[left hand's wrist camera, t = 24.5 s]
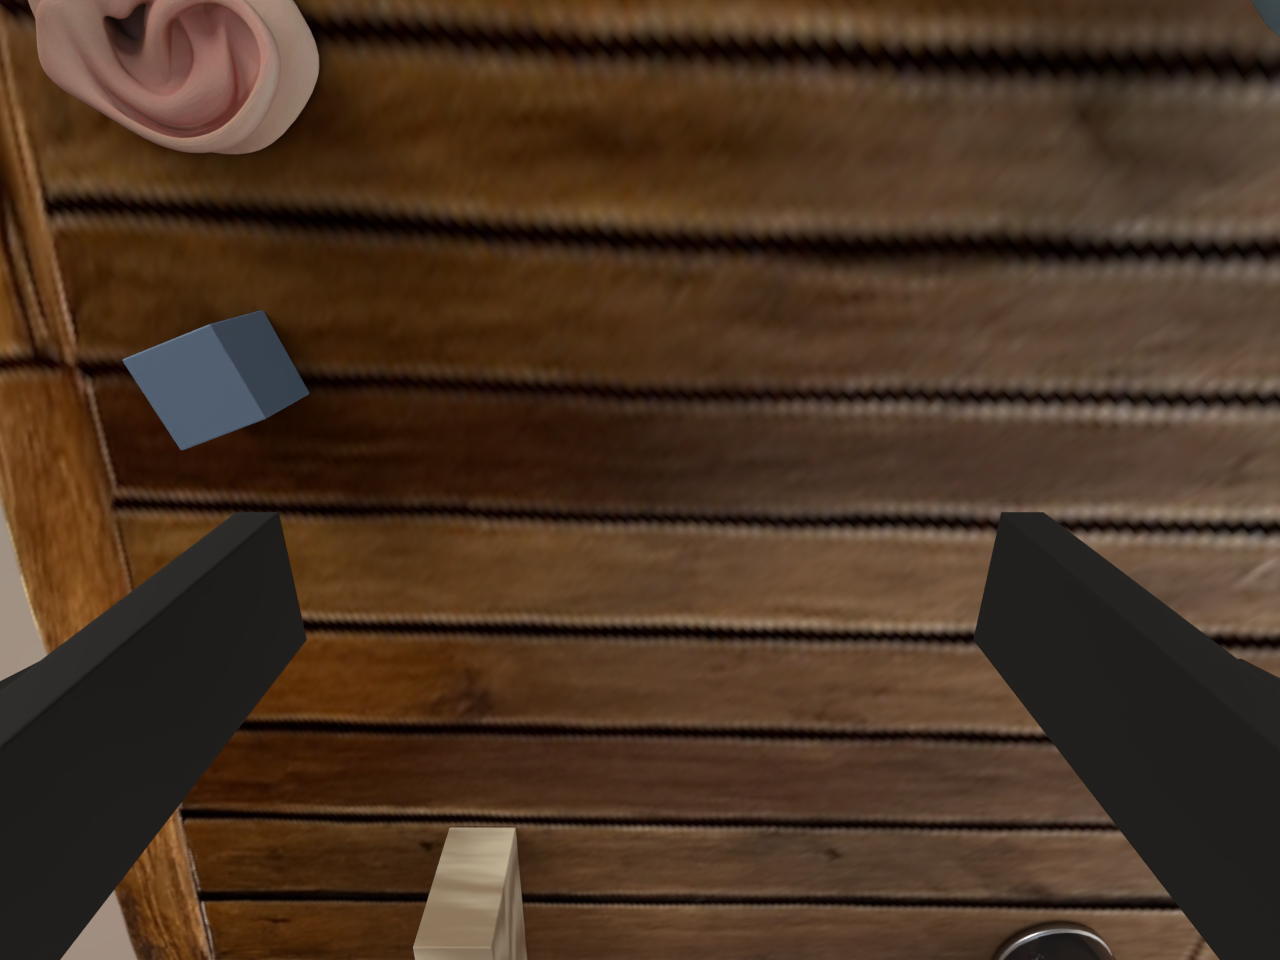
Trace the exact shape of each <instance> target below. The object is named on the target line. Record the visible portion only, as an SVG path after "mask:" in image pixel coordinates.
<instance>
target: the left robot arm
mask: <svg viewBox="0 0 1280 960" xmlns="http://www.w3.org/2000/svg"><path fill="white" fill-rule="evenodd" d="M1251 1H1252V3H1253V5H1254V6H1255V8H1256V10H1257V11H1258V13H1259V14H1260V16H1261V18H1262V19H1263V21H1264V22H1265V23H1266V25H1267V26H1268V27H1269V28H1270V29H1271V30H1272V31H1273V32H1274V33H1275V34H1277V35H1278V36H1280V0H1251ZM305 641H306V635H305V631H304V626H303V621H302V617H301V612H300V608H299V603H298V599H297V594H296V589H295V585H294V580H293V576H292V571H291V567H290V562H289V557H288V553H287V548H286V544H285V539H284V535H283V530H282V525H281V521H280V516H279V512H236V513H235V514H234V515H232V516H231V517H230V518H228V519H227V520H226V521H224V522H223V523H222V524H220V525H219V526H218V527H216V528H215V529H214V530H213V531H211V532H210V533H209V534H207V535H206V536H205V537H203V538H202V539H201V540H199V541H198V542H197V543H195V544H194V545H193V546H191V547H190V548H189V549H187V550H186V551H185V552H183V553H182V554H181V555H180V556H178V557H177V558H176V559H174V560H173V561H172V562H170V563H169V564H168V565H166V566H165V567H164V568H162V569H161V570H160V571H158V572H157V573H156V574H154V575H153V576H152V577H150V578H149V579H148V580H146V581H145V582H144V583H143V584H141V585H140V586H139V587H137V588H136V589H135V590H133V591H132V592H131V593H129V594H128V595H127V596H125V597H124V598H123V599H121V600H120V601H119V602H117V603H116V604H115V605H113V606H112V607H111V608H109V609H108V610H107V611H106V612H104V613H103V614H102V615H100V616H99V617H98V618H96V619H95V620H94V621H92V622H91V623H90V624H88V625H87V626H86V627H84V628H83V629H82V630H80V631H79V632H78V633H76V634H75V635H74V636H73V637H71V638H70V639H69V640H67V641H66V642H65V643H63V644H62V645H61V646H59V647H58V648H57V649H55V650H54V651H53V652H51V653H50V654H49V655H47V656H46V657H45V658H43V659H42V660H41V661H39V662H37V663H35V664H33V665H31V666H29V667H28V668H26V669H24V670H22V671H20V672H18V673H16V674H14V675H12V676H10V677H8V678H6V679H4V680H2V681H0V960H60V959H61V958H62V957H63V955H64V954H65V953H66V951H67V950H68V949H69V948H70V946H71V945H72V944H73V942H74V941H75V940H76V938H77V937H78V936H79V935H80V933H81V932H82V931H83V929H84V928H85V927H86V925H87V924H88V923H89V922H90V920H91V919H92V918H93V916H94V915H95V914H96V912H97V911H98V910H99V909H100V907H101V906H102V905H103V903H104V902H105V901H106V900H107V898H108V897H109V896H110V894H111V893H112V892H113V890H114V889H115V888H116V887H117V885H118V884H119V883H120V881H121V880H122V879H123V877H124V876H125V875H126V874H127V872H128V871H129V870H130V868H131V867H132V866H133V864H134V863H135V862H136V861H137V859H138V858H139V857H140V855H141V854H142V853H143V851H144V850H145V849H146V848H147V846H148V845H149V844H150V842H151V841H152V840H153V839H154V837H155V836H156V835H157V833H158V832H159V831H160V829H161V828H162V827H163V826H164V824H165V823H166V822H167V820H168V819H169V818H170V816H171V815H172V814H173V813H174V811H175V810H176V809H177V807H178V806H179V805H180V803H181V802H182V801H183V800H184V798H185V797H186V796H187V794H188V793H189V792H190V790H191V789H192V788H193V787H194V785H195V784H196V783H197V781H198V780H199V779H200V777H201V776H202V775H203V774H204V772H205V771H206V770H207V768H208V767H209V766H210V764H211V763H212V762H213V761H214V759H215V758H216V757H217V755H218V754H219V753H220V752H221V750H222V749H223V748H224V746H225V745H226V744H227V742H228V741H229V740H230V739H231V737H232V736H233V735H234V733H235V732H236V731H237V729H238V728H239V727H240V726H241V724H242V723H243V722H244V720H245V719H246V718H247V716H248V715H249V714H250V713H251V711H252V710H253V709H254V707H255V706H256V705H257V703H258V702H259V701H260V700H261V698H262V697H263V696H264V694H265V693H266V692H267V690H268V689H269V688H270V687H271V685H272V684H273V683H274V681H275V680H276V679H277V678H278V676H279V675H280V674H281V672H282V671H283V670H284V668H285V667H286V666H287V665H288V663H289V662H290V661H291V659H292V658H293V657H294V655H295V654H296V653H297V652H298V650H299V649H300V648H301V646H302V645H303V644H304V642H305ZM974 641H975V642H976V644H977V645H978V646H979V648H980V649H981V650H982V652H983V653H984V654H985V655H986V657H987V658H988V659H989V661H990V662H991V663H992V665H993V666H994V667H995V668H996V670H997V671H998V672H999V674H1000V675H1001V676H1002V678H1003V679H1004V680H1005V681H1006V683H1007V684H1008V685H1009V687H1010V688H1011V689H1012V690H1013V692H1014V693H1015V694H1016V696H1017V697H1018V698H1019V700H1020V701H1021V702H1022V703H1023V705H1024V706H1025V707H1026V709H1027V710H1028V711H1029V713H1030V714H1031V715H1032V716H1033V718H1034V719H1035V720H1036V722H1037V723H1038V724H1039V726H1040V727H1041V728H1042V729H1043V731H1044V732H1045V733H1046V735H1047V736H1048V737H1049V739H1050V740H1051V741H1052V742H1053V744H1054V745H1055V746H1056V748H1057V749H1058V750H1059V752H1060V753H1061V754H1062V755H1063V757H1064V758H1065V759H1066V761H1067V762H1068V763H1069V764H1070V766H1071V767H1072V768H1073V770H1074V771H1075V772H1076V774H1077V775H1078V776H1079V777H1080V779H1081V780H1082V781H1083V783H1084V784H1085V785H1086V787H1087V788H1088V789H1089V790H1090V792H1091V793H1092V794H1093V796H1094V797H1095V798H1096V800H1097V801H1098V802H1099V803H1100V805H1101V806H1102V807H1103V809H1104V810H1105V811H1106V813H1107V814H1108V815H1109V816H1110V818H1111V819H1112V820H1113V822H1114V823H1115V824H1116V826H1117V827H1118V828H1119V829H1120V831H1121V832H1122V833H1123V835H1124V836H1125V837H1126V839H1127V840H1128V841H1129V842H1130V844H1131V845H1132V846H1133V848H1134V849H1135V850H1136V851H1137V853H1138V854H1139V855H1140V857H1141V858H1142V859H1143V861H1144V862H1145V863H1146V864H1147V866H1148V867H1149V868H1150V870H1151V871H1152V872H1153V874H1154V875H1155V876H1156V877H1157V879H1158V880H1159V881H1160V883H1161V884H1162V885H1163V887H1164V888H1165V889H1166V890H1167V892H1168V893H1169V894H1170V896H1171V897H1172V898H1173V900H1174V901H1175V902H1176V903H1177V905H1178V906H1179V907H1180V909H1181V910H1182V911H1183V913H1184V914H1185V915H1186V916H1187V918H1188V919H1189V920H1190V922H1191V923H1192V924H1193V925H1194V927H1195V928H1196V929H1197V931H1198V932H1199V933H1200V935H1201V936H1202V937H1203V938H1204V940H1205V941H1206V942H1207V944H1208V945H1209V946H1210V948H1211V949H1212V950H1213V951H1214V953H1215V954H1216V955H1217V957H1218V958H1219V959H1220V960H1280V678H1278V677H1276V676H1274V675H1272V674H1270V673H1268V672H1266V671H1264V670H1262V669H1260V668H1258V667H1256V666H1254V665H1252V664H1251V663H1249V662H1247V661H1245V660H1243V659H1237V658H1235V657H1234V656H1233V655H1231V654H1230V653H1229V652H1227V651H1226V650H1225V649H1223V648H1222V647H1221V646H1219V645H1218V644H1217V643H1215V642H1214V641H1213V640H1211V639H1210V638H1209V637H1207V636H1206V635H1205V634H1204V633H1202V632H1201V631H1200V630H1198V629H1197V628H1196V627H1194V626H1193V625H1192V624H1190V623H1189V622H1188V621H1186V620H1185V619H1184V618H1182V617H1181V616H1180V615H1178V614H1177V613H1176V612H1174V611H1173V610H1172V609H1171V608H1169V607H1168V606H1167V605H1165V604H1164V603H1163V602H1161V601H1160V600H1159V599H1157V598H1156V597H1155V596H1153V595H1152V594H1151V593H1149V592H1148V591H1147V590H1145V589H1144V588H1143V587H1141V586H1140V585H1139V584H1137V583H1136V582H1135V581H1134V580H1132V579H1131V578H1130V577H1128V576H1127V575H1126V574H1124V573H1123V572H1122V571H1120V570H1119V569H1118V568H1116V567H1115V566H1114V565H1112V564H1111V563H1110V562H1108V561H1107V560H1106V559H1104V558H1103V557H1102V556H1100V555H1099V554H1098V553H1097V552H1095V551H1094V550H1093V549H1091V548H1090V547H1089V546H1087V545H1086V544H1085V543H1083V542H1082V541H1081V540H1079V539H1078V538H1077V537H1075V536H1074V535H1073V534H1071V533H1070V532H1069V531H1067V530H1066V529H1065V528H1064V527H1062V526H1061V525H1060V524H1058V523H1057V522H1056V521H1054V520H1053V519H1052V518H1050V517H1049V516H1048V515H1046V514H1045V513H1044V512H1001V516H1000V521H999V525H998V530H997V535H996V539H995V544H994V548H993V553H992V557H991V562H990V567H989V571H988V576H987V580H986V585H985V589H984V594H983V599H982V603H981V608H980V612H979V617H978V621H977V626H976V631H975V635H974Z"/></svg>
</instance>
